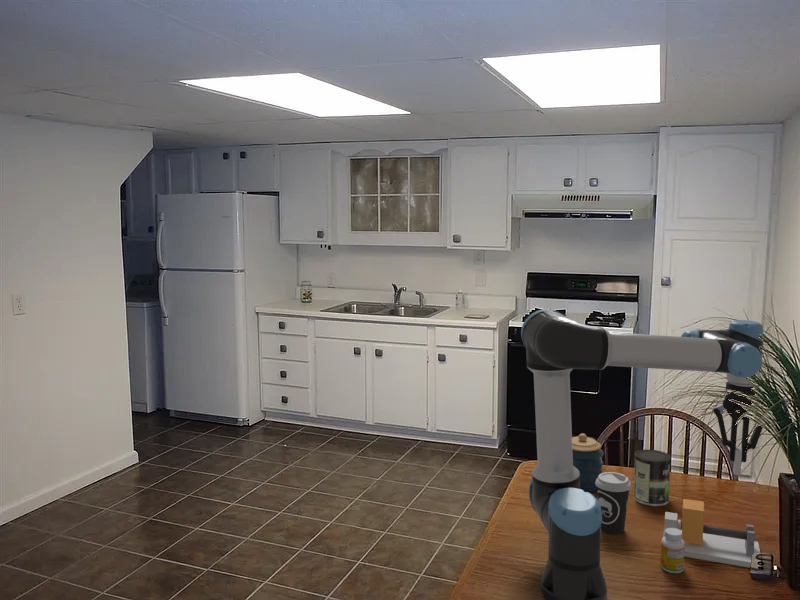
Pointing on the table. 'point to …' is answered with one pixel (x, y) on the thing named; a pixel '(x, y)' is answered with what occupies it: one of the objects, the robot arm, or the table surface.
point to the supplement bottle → (672, 551)
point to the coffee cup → (613, 501)
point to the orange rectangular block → (692, 521)
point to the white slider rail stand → (719, 543)
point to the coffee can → (652, 477)
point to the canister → (587, 461)
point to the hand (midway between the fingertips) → (736, 473)
